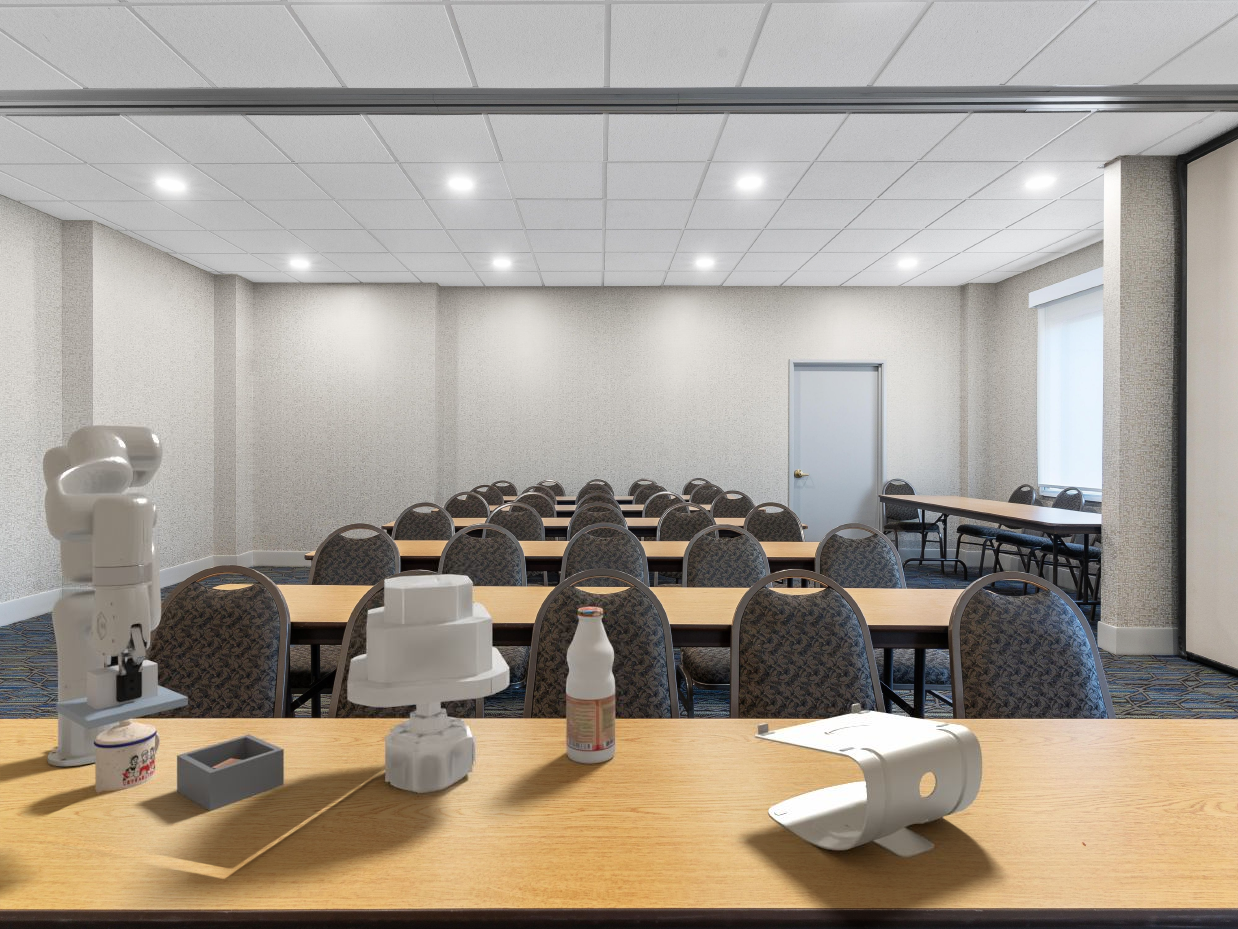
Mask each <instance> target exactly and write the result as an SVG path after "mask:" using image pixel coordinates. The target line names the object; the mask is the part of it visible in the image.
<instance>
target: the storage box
mask: <svg viewBox="0 0 1238 929" xmlns="http://www.w3.org/2000/svg"><path fill="white" fill-rule="evenodd" d="M284 750H285V749H284V748H282V747H279V746H278V745H275V744H272V743H270V742H268V741H265V740H263V739H261V738H259V737H255V736H254V735H251V734H245V735H242V736H237V737H235V738H231V739H229V740H225V741H221V742H218V743H215V744H212V745H208V746H204V747H201V748H197V749H194V750H191V751H188V752H187V751H186V752H184V753H181V754H177V755H176V792H177V793H179V794H180V795H182V796H183V797H185V798H187V799H189V800H190V801H193V802H194V803H195V804H197V805H198V806H201V807H202V808H204V809H206V810H208V811H209V812H213V811H215V810H218V809H221V808H223V807H226V806H229V805H231V804H235V803H237V802H241V801H243V800H246V799H249V798H251V797H253V796H257V795H259V794H263V793H265V792H267V791H268V792H269V791H270V790H273V789H276V788H279V787H281V786H284V785H285V784H284V783H285V782H284V781H285V780H284V779H285V778H284V776H285V772H284V770H285V768H284V764H285V762H284V758H285V757H284V756H285V755H284V754H285V752H284ZM231 758H232V759H239V760H242V761H238V762H235V763H232V764H229V765H226V766H223V767H220V768H217V769H212V767H214V766H216V765H218V764H220V763H222V762H224V761H226V760H228V759H231Z"/></svg>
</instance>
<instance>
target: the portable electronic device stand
mask: <svg viewBox="0 0 1238 929" xmlns="http://www.w3.org/2000/svg"><path fill="white" fill-rule="evenodd" d="M769 729H770V728H769V724H768V723H767V722H765V723H761V724H758V725H757V733H756V734H755V735H754V738H755V739H759V740H760V739H761V740H763V741H770V742H774V743H778V744H783V745H788V746H792V747H796V748H797V747H798V748H802V749H803V748H804V749H807V750H812V751H815V752H816V751H817V752H820V753H827V754H830V755H835V756H841V757H845V758H849V759H851V760H853V761H854V762H855V763H856V764H857V765H858V766H859V768H860V769H861V772H862V773H863V774H862V775H863V777H864V781H862V780H861V781H854V782H849V783H842V784H838V785H833V786H828V787H824V788H820V789H817V790H813V791H809V792H805V793H803V794H799V795H797V796H793V797H791V798H788V799H786V800H783V801H780V802H779V803H775V804H774V805H772V806H770V807H769V808H768V810H767V814H768V815H769V817H770V818H771V819H772V820H774V822H776V823H778V824H779V825H781V826H782V827H783V828H785V829H787V830H788V831H790V832H791V833H793V834H794V835H795V836H797V837H798V838H800V839H802V840H803V841H805V842H807V843H809V844H811V845H814V846H816V847H818V848H821V849H825V850H831V851H847V850H849V849H853V848H856V847H858V846H861V845H864V844H867V843H869V842H873V843H874V844H876V845H878V846H879V847H881V848H882V849H885V850H886V851H888V852H890V853H892V854H894V855H896V856H898V857H901V858H911V857H914V856H917V855H920V854H924V853H926V852H929V851H931V850H933V849H934V846H935V844H934V843H933V842H932V841H931V840H929V839H927V838H926V837H924V836H923V835H920V834H918V833H916V832H915V831H913V830H911V829H909V828H907V827H909V826H911V825H915V824H925V823H930V822H934V821H935V820H939V819H941V818H944V817H947V816H951V815H953V814H956V813H959V812H963V811H964V810H965V809H968V808H969V807H970V806H971V805H972V804H973V803H974V801H975V800H976V798H977V797H978V794H979V792H980V788H981V784H982V779H983V755H982V754H983V753H982V749H981V748H982V747H981V745H980V744H981V743H980V742H979V739H978V737H977V735H976V734H975V733H974V732H973V731H972V730H971V729H970V728H968V727H966V726H965V725H960V724H955V723H950V722H949V723H948V722H942V721H936V720H928V719H922V718H916V717H911V716H906V715H905V716H904V715H898V714H893V713H886V712H880V711H874V710H862V705H861V703H854V704H852V705H851V713H848V714H842V715H838V716H833V717H830V718H825V719H820V720H816V721H812V722H806V723H803V724H798V725H794V726H789V727H784V728H779V729H775V730H769ZM928 773H931V774H933V776H934V780H935V785H934V788H933V790H932V791H931V793H930V794H929V795H927V796H923V795H921V791H920V790H921V789H920V786H921V781H922V778H923V777H924V776H925V775H926V774H928Z"/></svg>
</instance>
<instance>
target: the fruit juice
mask: <svg viewBox="0 0 1238 929" xmlns="http://www.w3.org/2000/svg"><path fill="white" fill-rule="evenodd" d="M603 617H604V609H603V608H602V607H597V606H583V607H580V608H577V618H578V624H577V627H576V629H575V634H574V635H573V639H572V640H571V643H570V644H569V646H568V648H567V652H566V661H567V665H568V668H569V670H568V675H567V678H566V685H565V696H566V697H565V698H566V700H565V704H566V705H565V706H566V707H565V709H566V712H565V713H566V714H565V715H566V716H565V720H566V723H565V725H566V727H565V728H566V730H565V731H566V734H565V735H566V738H565V741H566V753H567V757H568V758H569V760H571V761H573V762H575V763H580V764H598V763H599V764H600V763H605V762H607V761H609V760H610V759H612V758H613V757H614V756H615V753H616V752H615V751H616V681H615V677H614V673H613V666H614V660H615V650H614V648H613V645H612V644H611V642H610V640H609V638H608V636H607V633H606V629H605V627H604V624H603V622H602V619H603Z"/></svg>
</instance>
